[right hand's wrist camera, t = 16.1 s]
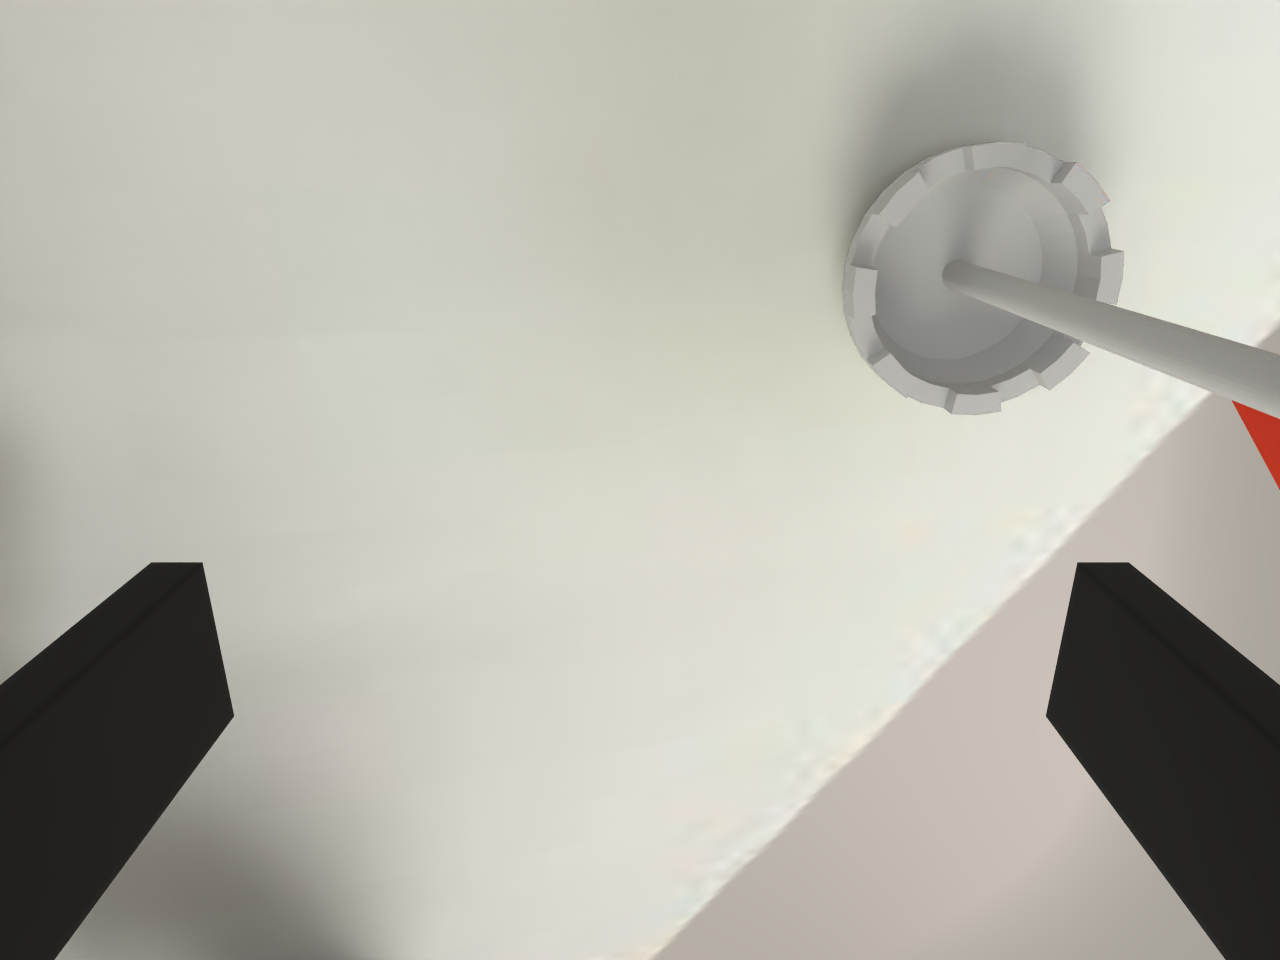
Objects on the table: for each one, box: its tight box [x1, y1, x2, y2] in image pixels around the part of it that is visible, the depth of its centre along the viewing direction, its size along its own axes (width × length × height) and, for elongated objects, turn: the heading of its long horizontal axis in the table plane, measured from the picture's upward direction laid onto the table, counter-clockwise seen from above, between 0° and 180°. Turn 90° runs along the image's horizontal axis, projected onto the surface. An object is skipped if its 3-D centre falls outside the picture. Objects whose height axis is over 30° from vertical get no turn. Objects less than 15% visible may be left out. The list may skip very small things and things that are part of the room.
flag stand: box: [842, 142, 1280, 489], centre depth 31 cm, size 13×13×30 cm
